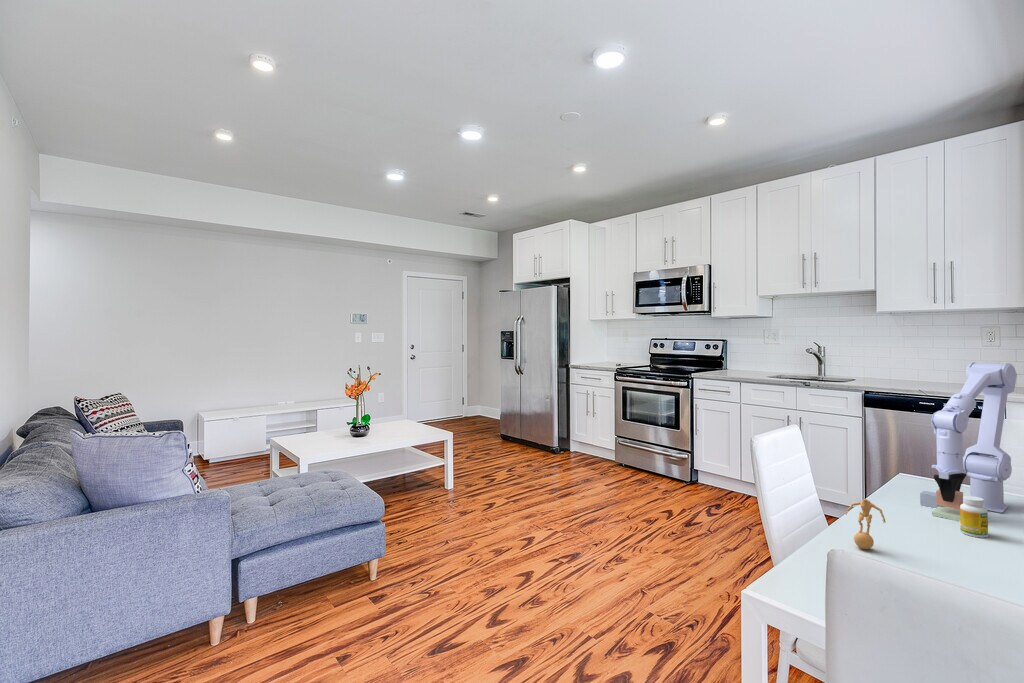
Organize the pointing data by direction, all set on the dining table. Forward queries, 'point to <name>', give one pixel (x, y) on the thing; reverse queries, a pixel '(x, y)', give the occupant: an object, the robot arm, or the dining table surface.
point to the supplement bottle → (973, 517)
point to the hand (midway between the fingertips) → (950, 499)
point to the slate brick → (928, 499)
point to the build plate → (946, 513)
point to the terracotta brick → (955, 504)
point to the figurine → (861, 537)
